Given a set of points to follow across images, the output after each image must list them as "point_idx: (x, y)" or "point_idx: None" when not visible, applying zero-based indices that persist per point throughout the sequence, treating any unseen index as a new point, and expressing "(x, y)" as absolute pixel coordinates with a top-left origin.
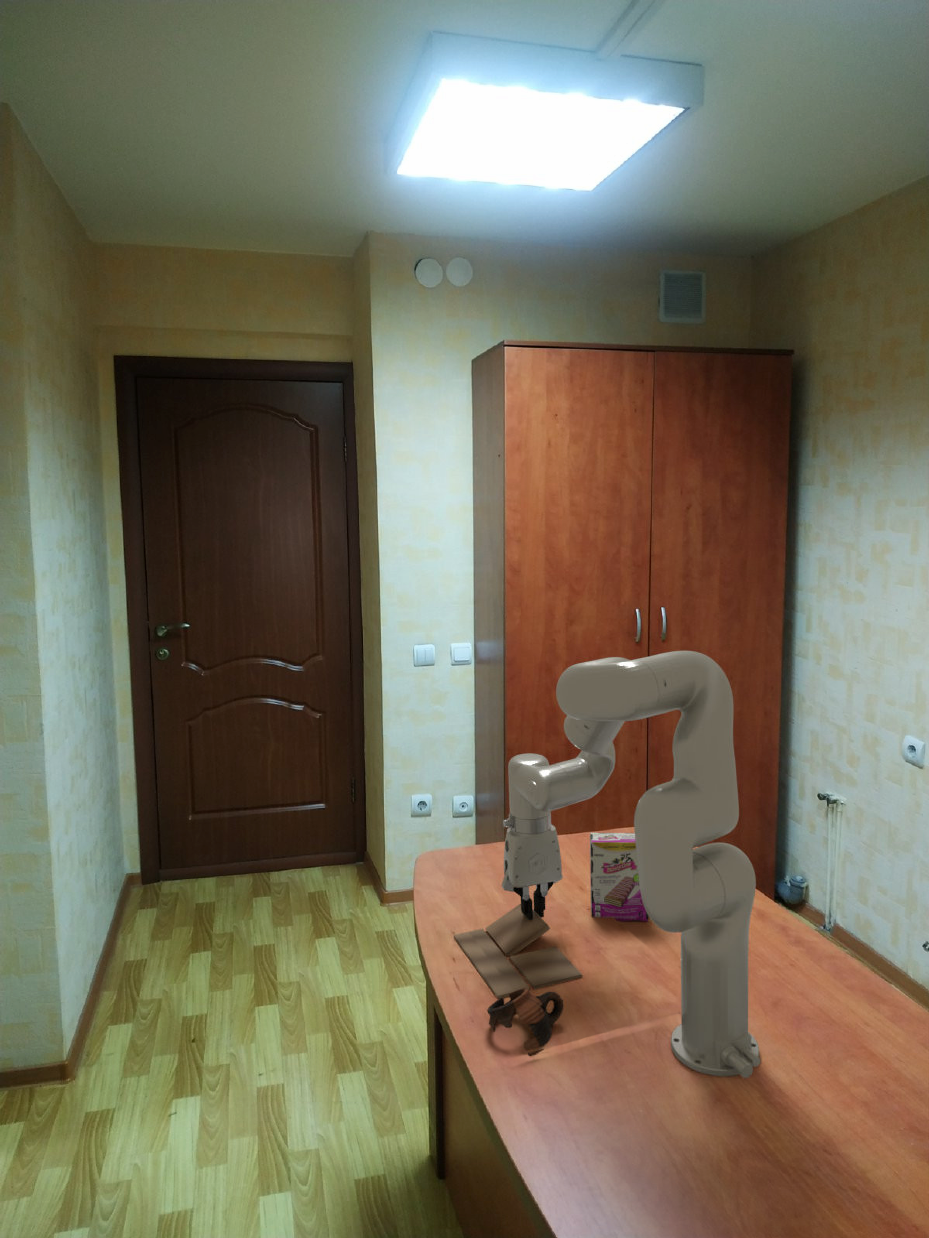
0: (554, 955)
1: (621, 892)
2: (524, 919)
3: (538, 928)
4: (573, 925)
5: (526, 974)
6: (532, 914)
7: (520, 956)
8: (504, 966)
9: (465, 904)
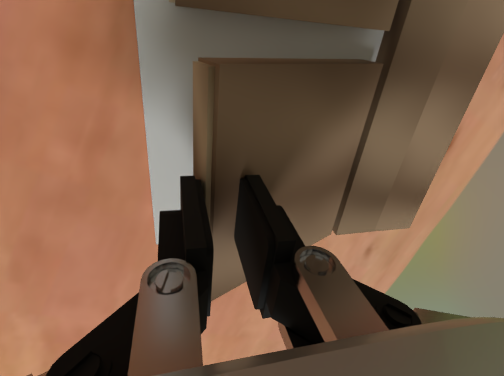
0: None
1: None
2: None
3: (259, 81)
4: (14, 188)
5: None
6: (247, 188)
7: (359, 6)
8: None
9: (278, 338)
